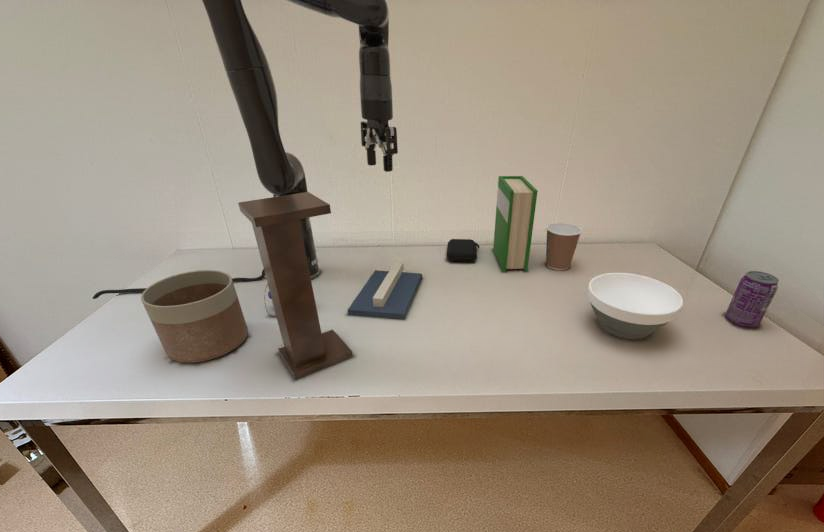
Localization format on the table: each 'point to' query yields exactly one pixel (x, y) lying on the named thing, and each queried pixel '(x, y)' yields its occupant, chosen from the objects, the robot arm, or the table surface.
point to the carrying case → (462, 250)
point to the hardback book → (514, 222)
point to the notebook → (396, 301)
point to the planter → (196, 315)
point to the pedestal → (293, 280)
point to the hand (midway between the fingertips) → (379, 168)
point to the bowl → (632, 304)
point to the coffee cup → (561, 244)
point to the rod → (388, 284)
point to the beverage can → (752, 298)
